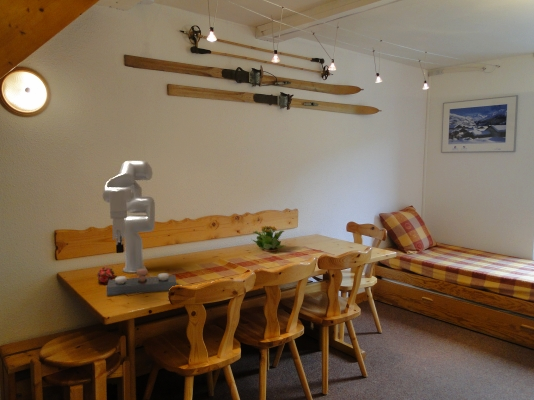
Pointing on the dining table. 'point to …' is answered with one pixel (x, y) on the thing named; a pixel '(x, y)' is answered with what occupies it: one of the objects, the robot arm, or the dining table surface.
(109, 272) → the dragon fruit
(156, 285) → the knob mount
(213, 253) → the dining table surface
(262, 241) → the potted flower
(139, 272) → the dial
